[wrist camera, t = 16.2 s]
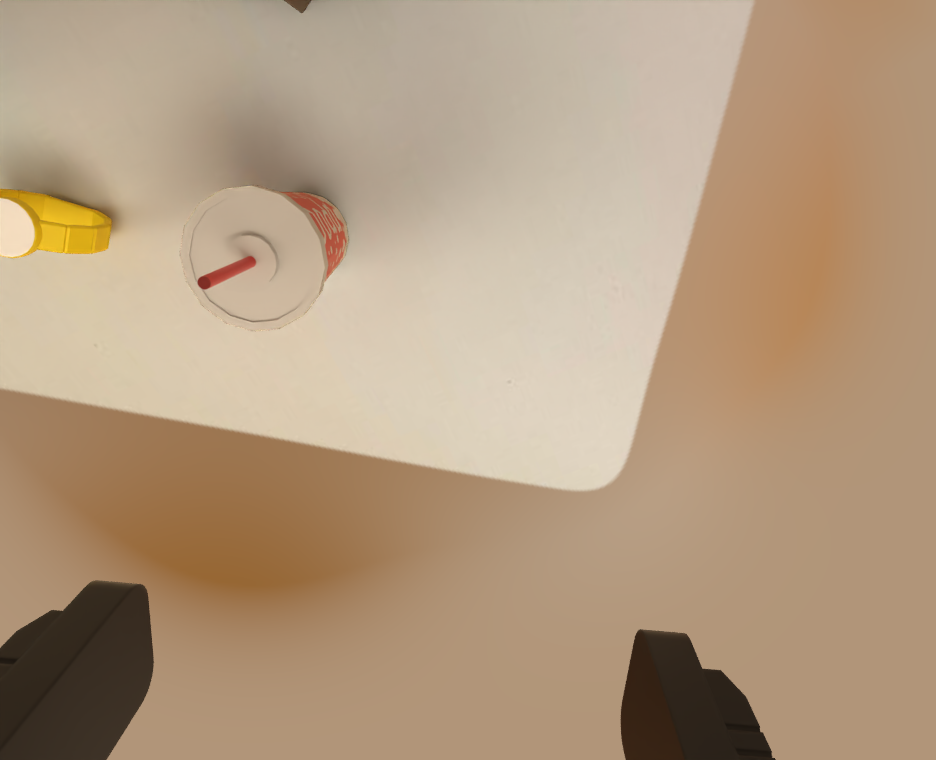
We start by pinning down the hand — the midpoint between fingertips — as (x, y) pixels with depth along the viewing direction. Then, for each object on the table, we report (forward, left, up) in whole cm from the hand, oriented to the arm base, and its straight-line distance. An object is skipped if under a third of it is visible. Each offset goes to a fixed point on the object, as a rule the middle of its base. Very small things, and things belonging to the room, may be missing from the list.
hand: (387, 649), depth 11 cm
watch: (+10, -19, -28) cm, 36 cm away
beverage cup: (+3, -9, -28) cm, 30 cm away
